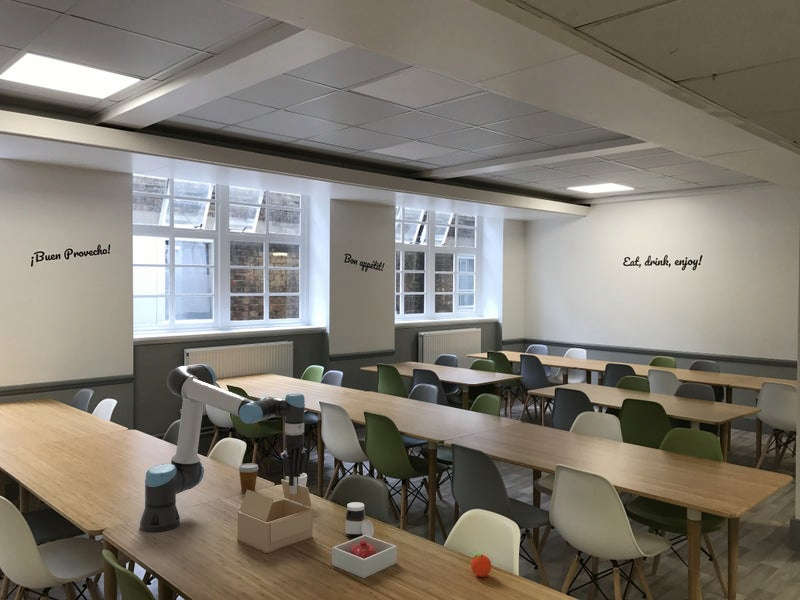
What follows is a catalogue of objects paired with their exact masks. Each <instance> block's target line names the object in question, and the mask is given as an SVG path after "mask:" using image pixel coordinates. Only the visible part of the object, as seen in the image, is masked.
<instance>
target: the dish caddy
mask: <svg viewBox="0 0 800 600" xmlns="http://www.w3.org/2000/svg"><path fill="white" fill-rule="evenodd" d="M362 540H365V541H367V543H366V544H370V545H372V546H373V547H374V548H375V549H376V551H377V554H374V555H372V556H370V557H367V558H365V559H363V558H361V557H358V556H356V555H353V554H350V553H349V552H350V549H351V547H353V546H355V545H359V544H360V541H362ZM397 551H398V546H397V545H395V544H393V543H389V542H387V541H384V540H381V539H378V538H375V537H370V536H367V535H363V536H360V537H354V538H353V539H351V540H348V541H345V542H342V543H340V544H337V545H335V546H332V548H331V566H333V567H336V568H339V569H341V570H344V571H346V572H348V573H350V574H353V575H355V576H357V577H360V578H361V579H362V578H363V579H365V578H367V577H369V576H372V575H374V574H375V573H378V572H380V571H383V570H385V569H386V568H389V567H390V566H393V565H396V564H397V562H398V560H397V558H398V557H397V556H398V555H397V554H398V553H397Z"/></svg>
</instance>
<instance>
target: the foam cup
mask: <svg viewBox="0 0 800 600" xmlns="http://www.w3.org/2000/svg"><path fill="white" fill-rule="evenodd" d="M285 480H286V481H289V477H287V476H285ZM307 482H308V475H307V473H305V472H303V473H302V474H300V477H298V484H299V485H302V486H305V487H307ZM288 500H289V499H288ZM289 501H292V500H289ZM292 502H295V501H292ZM295 503H298V502H295ZM298 504H300V505H303V506H304V504H301V503H298Z"/></svg>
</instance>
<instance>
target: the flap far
mask: <svg viewBox="0 0 800 600" xmlns="http://www.w3.org/2000/svg"><path fill="white" fill-rule="evenodd" d="M280 482H281V487H282V492H283V495H284V496H283V497H284V499H286V500H292V501H295V502H298V503H301V504H303V506H306V507H309V508H312V501H311V495H310V492H309V491H310V489H309V487H307V486H306V487H305V486H302V485H299V484H297V494H291V493H290V485H289V481H286V479H282V478H281V480H280Z"/></svg>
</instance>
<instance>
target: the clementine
mask: <svg viewBox="0 0 800 600" xmlns="http://www.w3.org/2000/svg"><path fill="white" fill-rule="evenodd" d="M471 558H472V559H471ZM470 559H471V563H470V567H471V571H472V572H473V574H475V575H476V576H477V577H482V578H483V577H486V576H487V575H489V574H490V573H491V571H492V562H491V560H490V558H489V557H488V556H487V555H485V554H478V553H477V554H473V555H471V556H470V557H469V558H468V560H470Z"/></svg>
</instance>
